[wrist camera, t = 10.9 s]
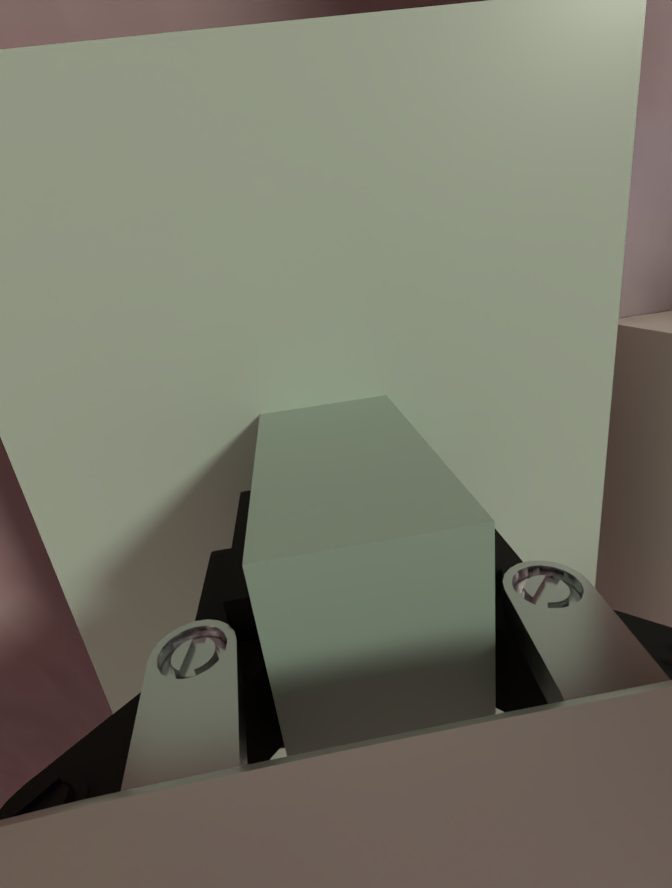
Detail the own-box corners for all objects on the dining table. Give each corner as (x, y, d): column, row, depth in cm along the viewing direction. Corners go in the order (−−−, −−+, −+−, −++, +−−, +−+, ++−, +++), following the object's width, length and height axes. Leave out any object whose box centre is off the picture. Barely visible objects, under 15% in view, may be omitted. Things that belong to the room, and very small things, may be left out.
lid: (571, 42, 11) (1255, -481, 3) (543, 680, 19) (739, 984, 11) (-56, 109, 10) (-1117, -395, 2) (174, 753, 18) (91, 1145, 10)
